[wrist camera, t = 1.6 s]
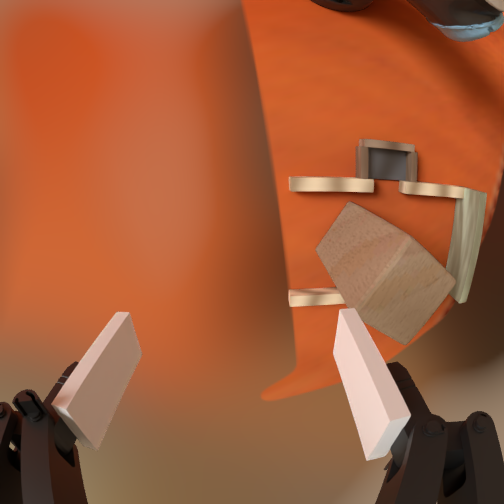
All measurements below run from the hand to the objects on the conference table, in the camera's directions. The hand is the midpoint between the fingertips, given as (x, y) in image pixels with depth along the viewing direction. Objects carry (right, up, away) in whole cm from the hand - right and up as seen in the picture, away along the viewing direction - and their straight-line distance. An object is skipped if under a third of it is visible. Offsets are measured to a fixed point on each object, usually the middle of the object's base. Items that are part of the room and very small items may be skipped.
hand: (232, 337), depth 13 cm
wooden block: (+18, +6, +32) cm, 37 cm away
